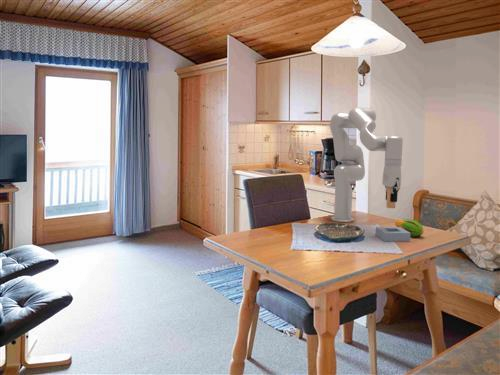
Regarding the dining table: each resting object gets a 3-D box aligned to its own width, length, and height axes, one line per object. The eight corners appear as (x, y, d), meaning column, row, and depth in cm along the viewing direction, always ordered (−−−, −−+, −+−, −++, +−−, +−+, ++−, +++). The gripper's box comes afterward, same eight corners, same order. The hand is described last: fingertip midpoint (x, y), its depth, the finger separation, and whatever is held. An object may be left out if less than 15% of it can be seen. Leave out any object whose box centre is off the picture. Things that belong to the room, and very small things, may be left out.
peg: (392, 206, 205) (393, 181, 203) (396, 208, 201) (398, 182, 199) (384, 206, 204) (386, 182, 203) (388, 208, 200) (389, 183, 199)
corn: (415, 223, 201) (389, 214, 219) (413, 239, 202) (387, 229, 220) (428, 223, 203) (401, 215, 222) (426, 239, 204) (399, 229, 223)
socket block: (375, 234, 209) (375, 227, 208) (399, 234, 210) (399, 226, 209) (384, 241, 197) (385, 233, 197) (409, 241, 198) (410, 233, 197)
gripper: (377, 161, 207) (376, 198, 210) (394, 164, 191) (392, 204, 193) (392, 161, 208) (390, 198, 211) (409, 163, 192) (407, 203, 194)
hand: (391, 200), depth 202 cm, fingers closed on peg, 4 cm apart
